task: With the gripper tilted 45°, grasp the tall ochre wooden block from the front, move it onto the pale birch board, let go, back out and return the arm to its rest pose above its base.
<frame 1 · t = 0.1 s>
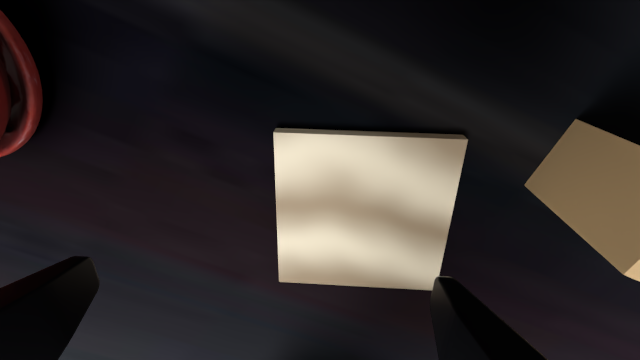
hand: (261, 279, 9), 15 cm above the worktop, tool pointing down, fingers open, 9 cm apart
ochre block: (580, 168, 22), on the worktop
birch board: (361, 211, 25), on the worktop
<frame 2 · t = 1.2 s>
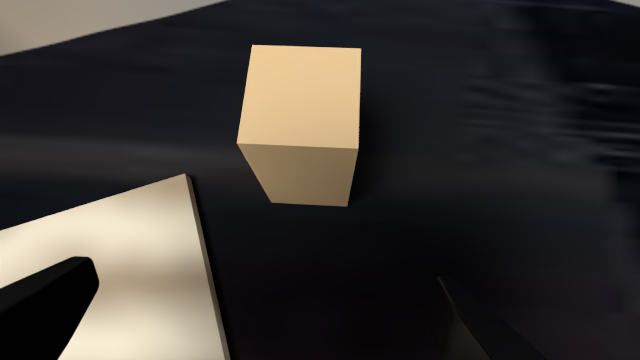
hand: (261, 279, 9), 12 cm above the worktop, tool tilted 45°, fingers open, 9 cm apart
ochre block: (311, 169, 23), on the worktop
birch board: (113, 296, 21), on the worktop
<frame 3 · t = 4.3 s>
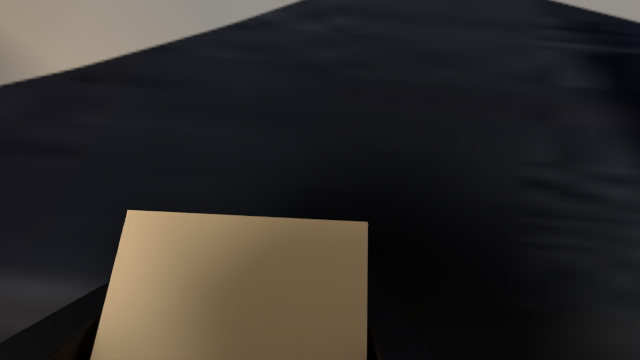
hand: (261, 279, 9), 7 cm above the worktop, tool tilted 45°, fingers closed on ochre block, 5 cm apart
ochre block: (285, 323, 15), on the worktop, touching gripper
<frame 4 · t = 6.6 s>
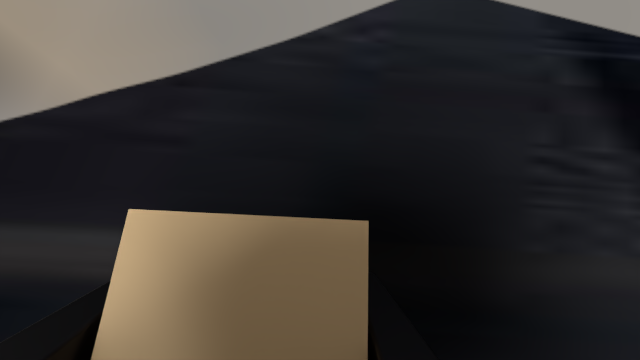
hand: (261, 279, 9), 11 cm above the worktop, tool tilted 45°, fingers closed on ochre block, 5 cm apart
ochre block: (285, 322, 15), point 5 cm above the worktop, touching gripper
when the fingers open (8 cm above the worktop, at t = 8.8 s): ochre block stays where it is, resting on birch board.
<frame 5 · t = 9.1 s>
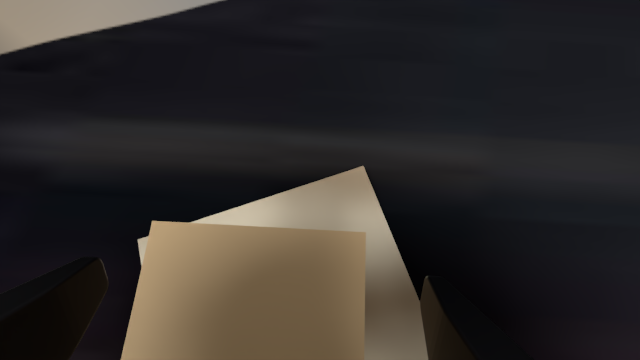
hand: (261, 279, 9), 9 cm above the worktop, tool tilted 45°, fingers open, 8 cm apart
ochre block: (289, 321, 16), point 1 cm above the worktop, touching birch board
birch board: (290, 320, 17), on the worktop
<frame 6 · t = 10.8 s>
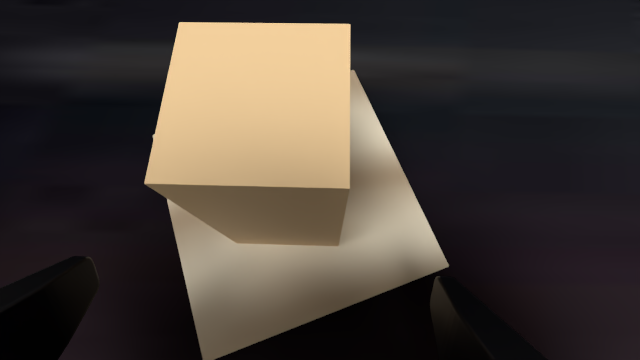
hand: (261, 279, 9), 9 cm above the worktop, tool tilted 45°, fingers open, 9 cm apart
ochre block: (290, 196, 18), point 1 cm above the worktop, touching birch board
birch board: (291, 201, 19), on the worktop
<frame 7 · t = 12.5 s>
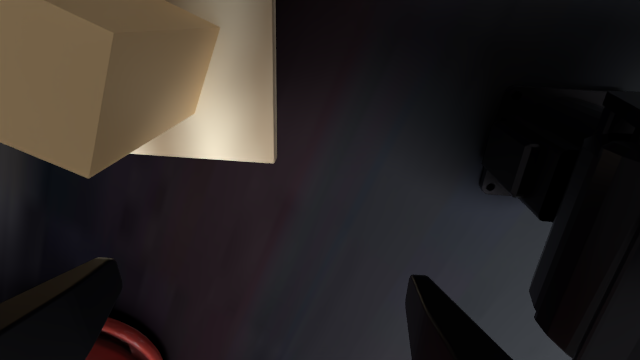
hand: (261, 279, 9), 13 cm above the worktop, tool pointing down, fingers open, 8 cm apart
ochre block: (162, 52, 18), point 1 cm above the worktop, touching birch board
plant pot: (115, 351, 31), on the worktop
birch board: (170, 51, 19), on the worktop
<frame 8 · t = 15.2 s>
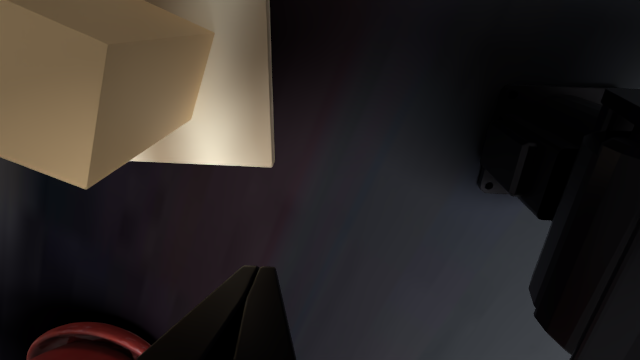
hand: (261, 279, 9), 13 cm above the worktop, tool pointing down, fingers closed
ochre block: (157, 58, 18), point 1 cm above the worktop, touching birch board
plant pot: (117, 357, 31), on the worktop
birch board: (165, 57, 19), on the worktop
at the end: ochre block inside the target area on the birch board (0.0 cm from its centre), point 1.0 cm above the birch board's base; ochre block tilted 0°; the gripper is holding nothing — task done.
